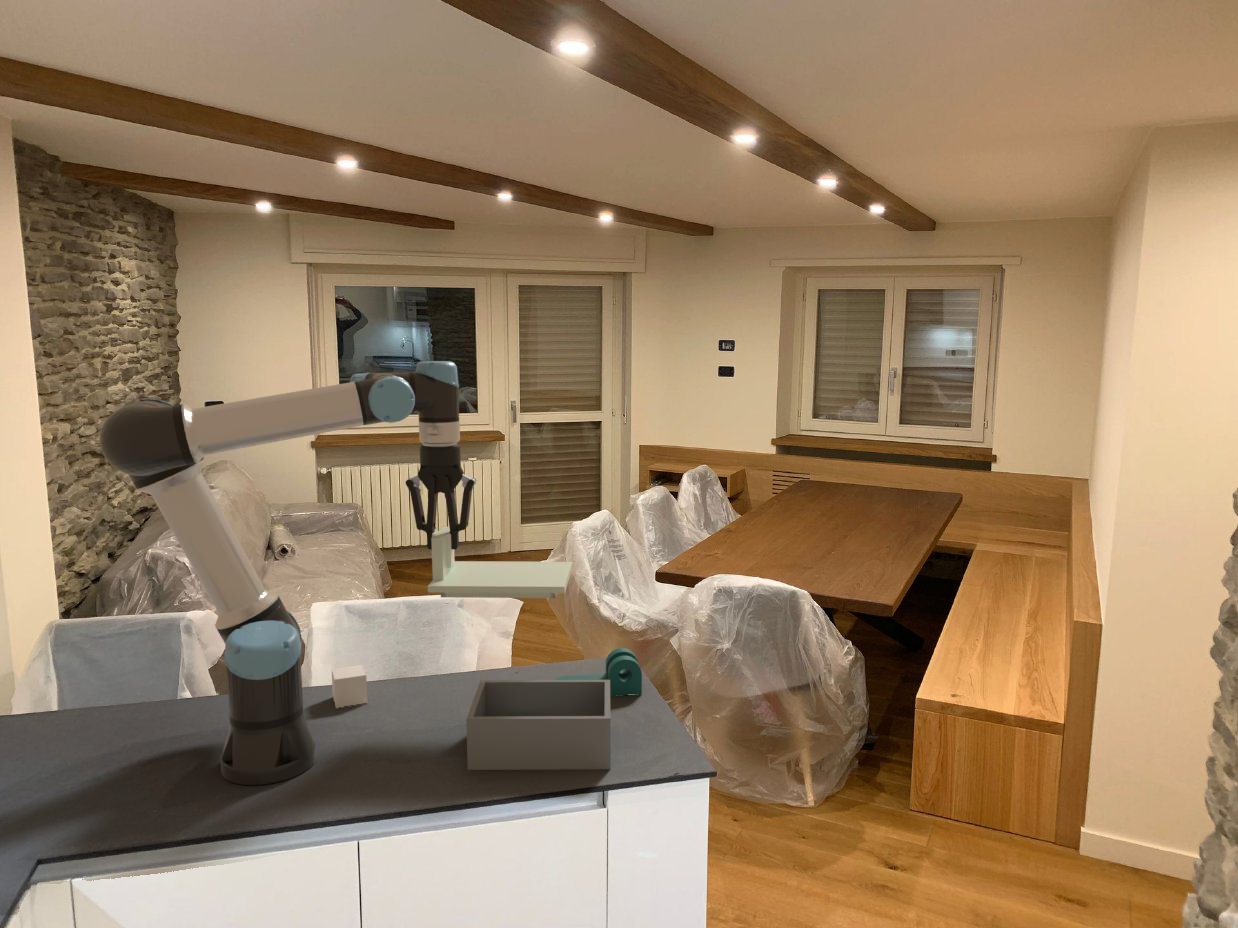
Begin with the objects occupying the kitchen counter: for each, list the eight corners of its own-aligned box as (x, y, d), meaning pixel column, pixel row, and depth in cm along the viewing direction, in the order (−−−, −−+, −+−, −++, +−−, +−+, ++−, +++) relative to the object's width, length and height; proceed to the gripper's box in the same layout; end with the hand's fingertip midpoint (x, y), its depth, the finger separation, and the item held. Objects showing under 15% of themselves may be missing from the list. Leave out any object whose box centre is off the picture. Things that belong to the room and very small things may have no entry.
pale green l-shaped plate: (428, 600, 164) (426, 543, 162) (449, 574, 181) (447, 522, 180) (564, 601, 163) (564, 543, 161) (572, 574, 181) (572, 522, 179)
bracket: (637, 683, 189) (637, 647, 188) (641, 695, 182) (641, 658, 181) (551, 686, 187) (551, 650, 186) (552, 699, 180) (552, 662, 179)
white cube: (336, 708, 176) (334, 679, 175) (332, 697, 181) (331, 669, 180) (367, 703, 178) (366, 674, 177) (363, 692, 183) (362, 664, 183)
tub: (467, 769, 151) (466, 719, 149) (481, 726, 168) (480, 680, 166) (610, 769, 151) (610, 718, 150) (610, 725, 168) (610, 679, 167)
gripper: (394, 446, 165) (399, 570, 168) (476, 446, 165) (479, 570, 168) (405, 441, 173) (409, 560, 176) (483, 441, 172) (486, 560, 175)
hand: (443, 565), depth 172 cm, fingers closed on pale green l-shaped plate, 2 cm apart
